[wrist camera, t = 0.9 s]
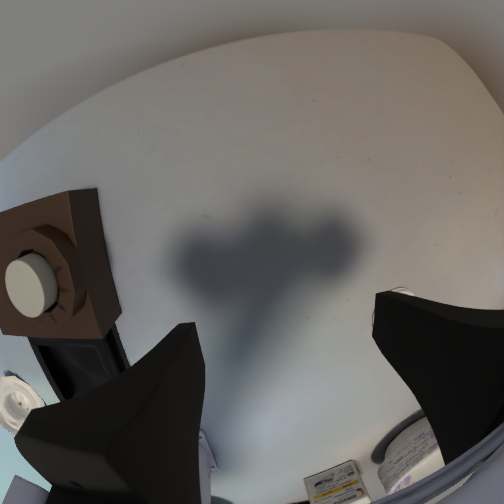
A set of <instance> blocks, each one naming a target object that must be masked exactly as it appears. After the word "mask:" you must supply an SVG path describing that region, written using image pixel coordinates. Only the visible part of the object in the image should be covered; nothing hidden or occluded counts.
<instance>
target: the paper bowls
mask: <svg viewBox="0 0 504 504" xmlns="http://www.w3.org/2000/svg"><path fill="white" fill-rule="evenodd" d="M444 466H445V464H444V461H443V458H442V454H441V451H440V448H439V445H438V443H437V440H436V438H435V435H434V433H433V430H432V428H431V426H430V424H429V422H428V419H427V417H424V418H422V419H420V420H418V421H416V422H415V423H413V424H412V425H410V426H409V427H407V428H406V429H405V430H403V431H402V432H401V433H400V434H399V435H398V436H397V437H396V438H395V439H394V440H393V441H392V442H391V443H390V445H389V446H388V448H387V450H386V452H385V460H384V462H383V463H382V464H381V466H380V467H379V469H378V476H379V479H380V480H381V483H382V484H383V486H384V488H385V490H386V492H387V494H388V495H390V494H393V493H395V492H397V491H399V490H401V489H404V488H406V487H408V486H410V485H412V484H414V483H416V482H418V481H419V480H421V479H423V478H425V477H427V476H429V475H430V474H432V473H434V472H436V471H437V470H439V469H441V468H442V467H444Z"/></svg>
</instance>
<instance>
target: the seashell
mask: <svg viewBox="0 0 504 504" xmlns="http://www.w3.org/2000/svg"><path fill="white" fill-rule="evenodd" d="M44 406H45V404H44V401H43V400H42V399H41V398H40V397H39V396H38V394H37V393H36V392H35V391H34V390H33V389H32V388H31V386H29V385H28V384H26V383H25V382H23V381H21V380H20V379H18V378H16V376H7V377H0V424H1V425H2V426H3V427H4V428H5V429H7V430H8V431H9V432H11V433H12V434H13V435H15V436H16V434H17V432H18V431H19V429H20V427H21V426H22V424H23V422H24V421H25V419H26V418H27V416H28V414H29V413H30V411H31V410H32V409H35V408H40V407H44Z"/></svg>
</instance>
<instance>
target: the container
mask: <svg viewBox="0 0 504 504" xmlns="http://www.w3.org/2000/svg"><path fill="white" fill-rule="evenodd" d="M304 483H305V486H306V490H307V494H308V497H309V501H310V504H368V503H371V499H370V497H369V495H368V492H367V490H366V488H365V486H364V483H363V481H362V479H361V476H360V474H359V472H358V470H357V468H356V466H355V464H354V462H353V461H349V462H346V463H344V464H342V465H340V466H337V467H335V468H332V469H330V470H327V471H325V472H322V473H320V474H317V475H314V476H311V477H309V478H306V479H305V480H304Z"/></svg>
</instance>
